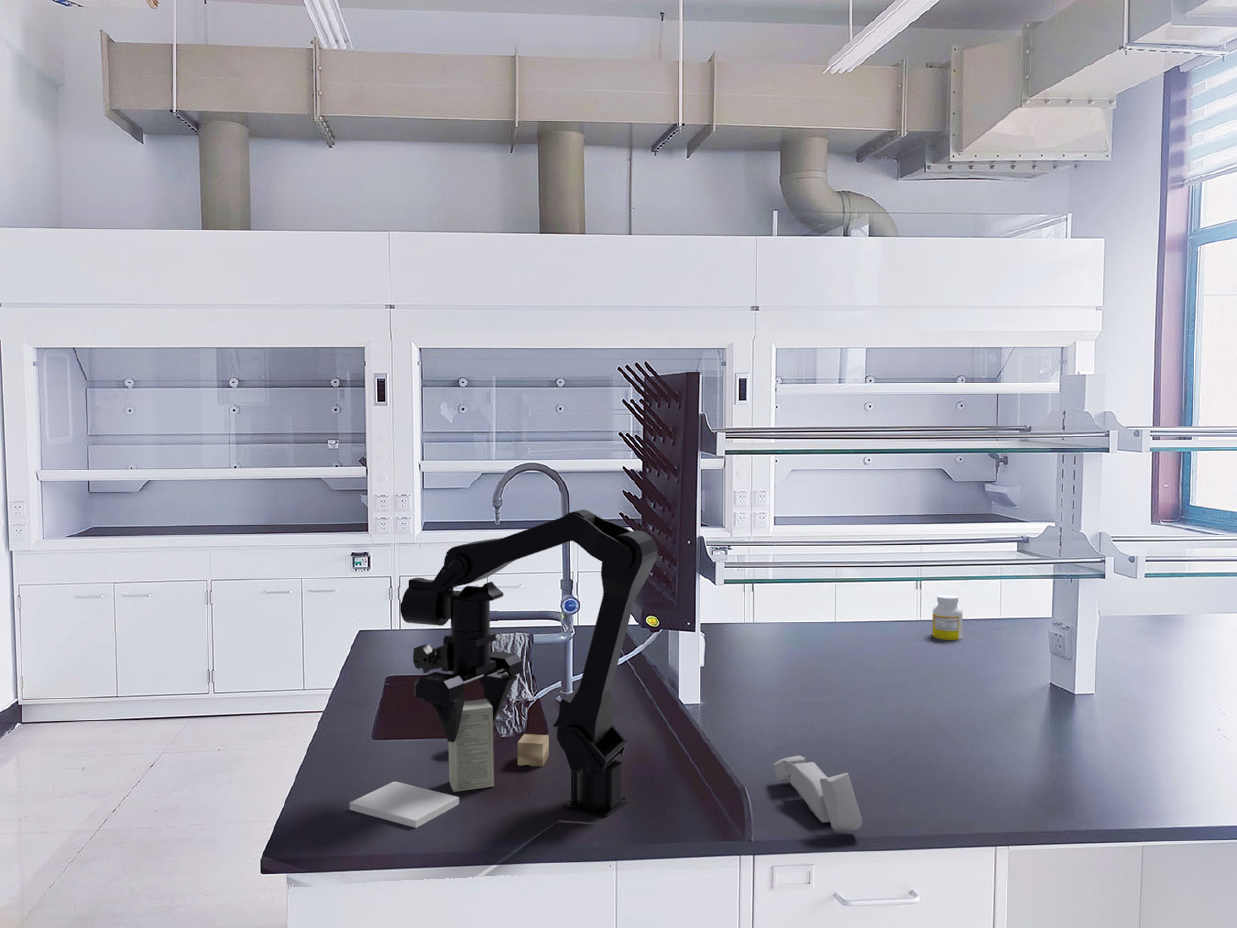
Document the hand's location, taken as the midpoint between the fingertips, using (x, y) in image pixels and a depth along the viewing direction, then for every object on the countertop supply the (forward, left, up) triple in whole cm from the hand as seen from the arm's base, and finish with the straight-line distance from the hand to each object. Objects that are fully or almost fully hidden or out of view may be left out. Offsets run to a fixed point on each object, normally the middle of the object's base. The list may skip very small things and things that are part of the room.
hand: (471, 732), depth 141 cm
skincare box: (0, 0, -8) cm, 8 cm away
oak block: (-3, -12, -8) cm, 15 cm away
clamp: (-47, -17, -8) cm, 51 cm away
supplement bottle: (-46, -121, -8) cm, 130 cm away
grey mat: (+3, +11, -8) cm, 14 cm away
